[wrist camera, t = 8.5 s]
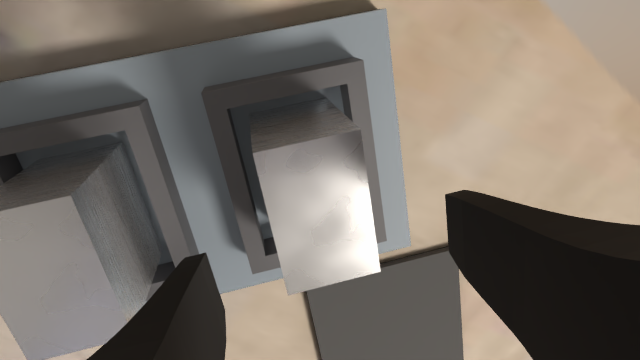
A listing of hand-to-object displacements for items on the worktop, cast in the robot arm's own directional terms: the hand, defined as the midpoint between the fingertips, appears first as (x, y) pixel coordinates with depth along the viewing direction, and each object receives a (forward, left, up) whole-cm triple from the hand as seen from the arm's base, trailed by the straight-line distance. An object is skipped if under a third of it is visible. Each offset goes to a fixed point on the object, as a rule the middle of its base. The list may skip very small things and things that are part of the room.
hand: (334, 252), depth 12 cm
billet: (-9, 0, -8) cm, 12 cm away
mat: (+4, -12, -9) cm, 16 cm away
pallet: (-4, 0, -9) cm, 10 cm away
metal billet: (0, 0, -8) cm, 8 cm away
